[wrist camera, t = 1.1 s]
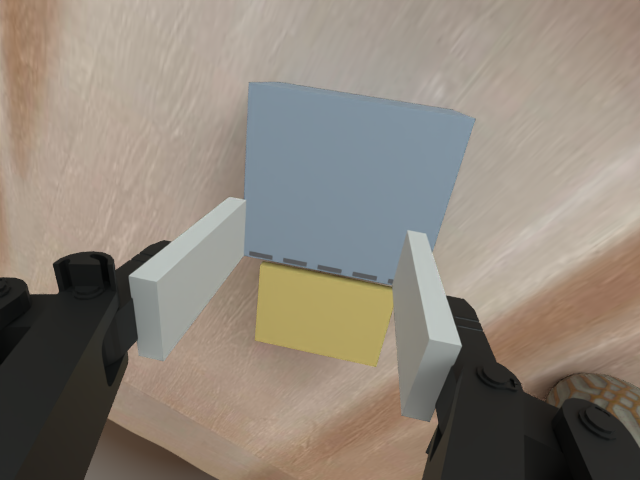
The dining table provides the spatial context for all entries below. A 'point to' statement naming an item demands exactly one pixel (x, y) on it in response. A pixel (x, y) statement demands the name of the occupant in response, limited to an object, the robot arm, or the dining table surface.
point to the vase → (602, 397)
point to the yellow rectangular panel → (322, 313)
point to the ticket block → (345, 177)
